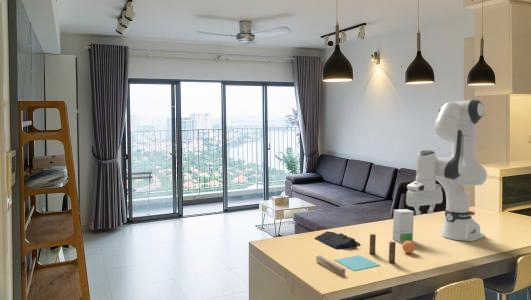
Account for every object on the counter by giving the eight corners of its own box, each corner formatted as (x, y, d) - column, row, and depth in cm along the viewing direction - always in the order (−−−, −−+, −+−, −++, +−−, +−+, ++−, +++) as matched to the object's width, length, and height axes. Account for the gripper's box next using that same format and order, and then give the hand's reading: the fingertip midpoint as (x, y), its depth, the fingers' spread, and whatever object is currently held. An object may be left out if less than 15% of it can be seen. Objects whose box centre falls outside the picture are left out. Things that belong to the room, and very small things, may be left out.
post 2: (391, 261, 184) (392, 241, 183) (396, 263, 181) (396, 242, 181) (387, 262, 183) (388, 241, 182) (391, 263, 180) (392, 243, 179)
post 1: (372, 252, 195) (373, 233, 194) (376, 254, 193) (376, 235, 192) (368, 253, 194) (368, 234, 193) (371, 255, 192) (372, 235, 191)
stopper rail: (320, 260, 184) (320, 255, 184) (345, 275, 168) (345, 269, 168) (316, 261, 183) (316, 256, 183) (341, 275, 167) (341, 269, 167)
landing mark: (359, 255, 191) (359, 255, 191) (380, 265, 178) (380, 265, 178) (334, 260, 185) (334, 259, 185) (354, 270, 172) (354, 270, 172)
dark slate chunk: (335, 235, 224) (335, 226, 224) (363, 247, 205) (363, 237, 204) (311, 239, 217) (311, 230, 217) (338, 251, 198) (338, 242, 197)
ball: (408, 250, 198) (408, 238, 198) (417, 253, 193) (417, 241, 193) (399, 251, 196) (399, 240, 195) (408, 255, 191) (408, 243, 190)
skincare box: (399, 242, 210) (399, 212, 209) (391, 239, 216) (392, 209, 215) (413, 241, 212) (414, 211, 211) (405, 237, 219) (406, 208, 217)
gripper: (435, 182, 204) (434, 210, 205) (404, 185, 195) (403, 214, 196) (446, 184, 198) (445, 213, 199) (414, 187, 189) (413, 217, 190)
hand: (424, 214), depth 197 cm, fingers open, 6 cm apart
